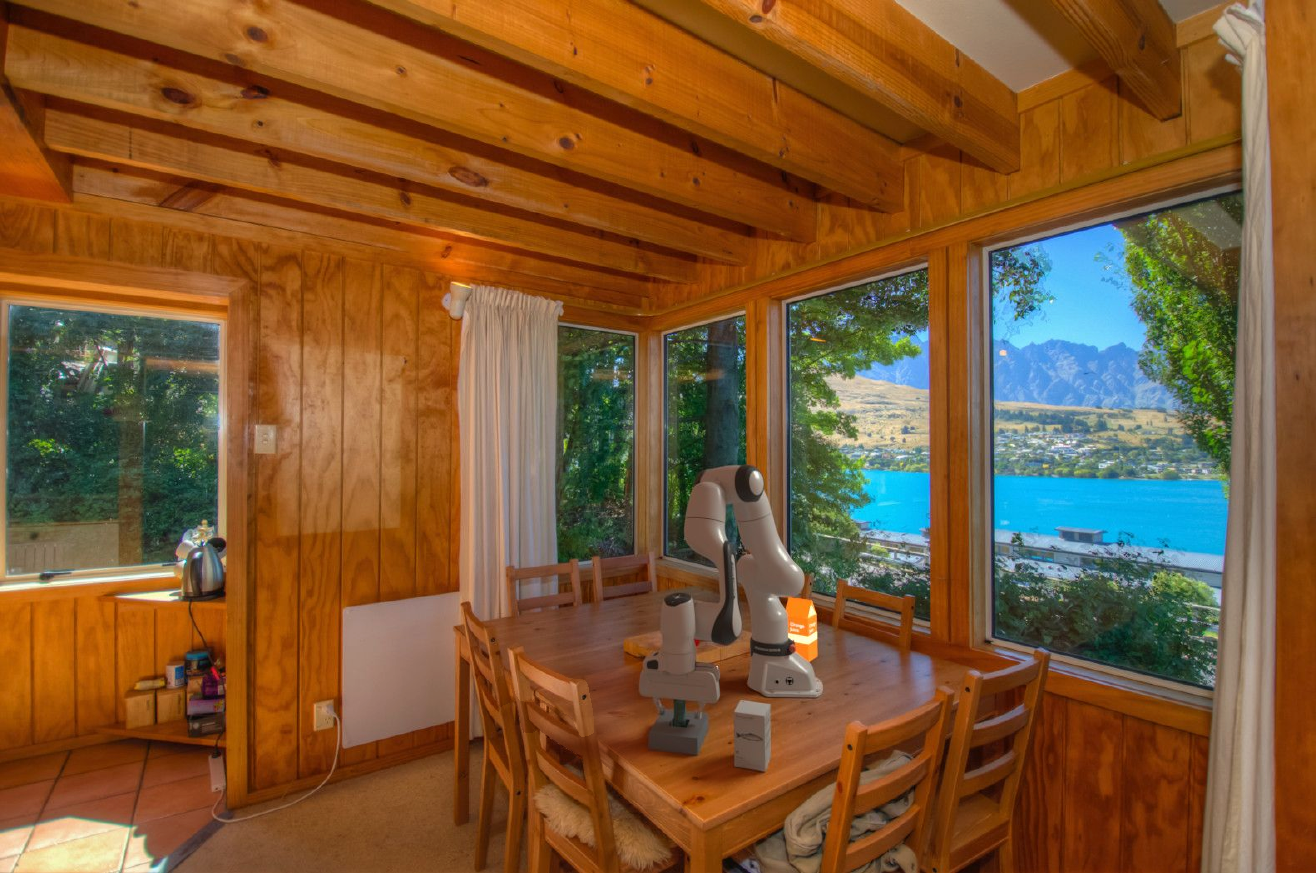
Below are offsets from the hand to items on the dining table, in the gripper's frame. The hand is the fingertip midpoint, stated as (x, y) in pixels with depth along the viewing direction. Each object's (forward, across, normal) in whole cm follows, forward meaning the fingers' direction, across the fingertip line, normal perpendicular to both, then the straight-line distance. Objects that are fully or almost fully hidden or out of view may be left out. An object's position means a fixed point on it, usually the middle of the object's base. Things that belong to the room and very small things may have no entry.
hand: (679, 716), depth 152 cm
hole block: (+6, 0, 0) cm, 6 cm away
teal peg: (+6, 0, 0) cm, 6 cm away
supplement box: (+6, -19, +7) cm, 21 cm away
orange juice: (+6, -27, -68) cm, 73 cm away
